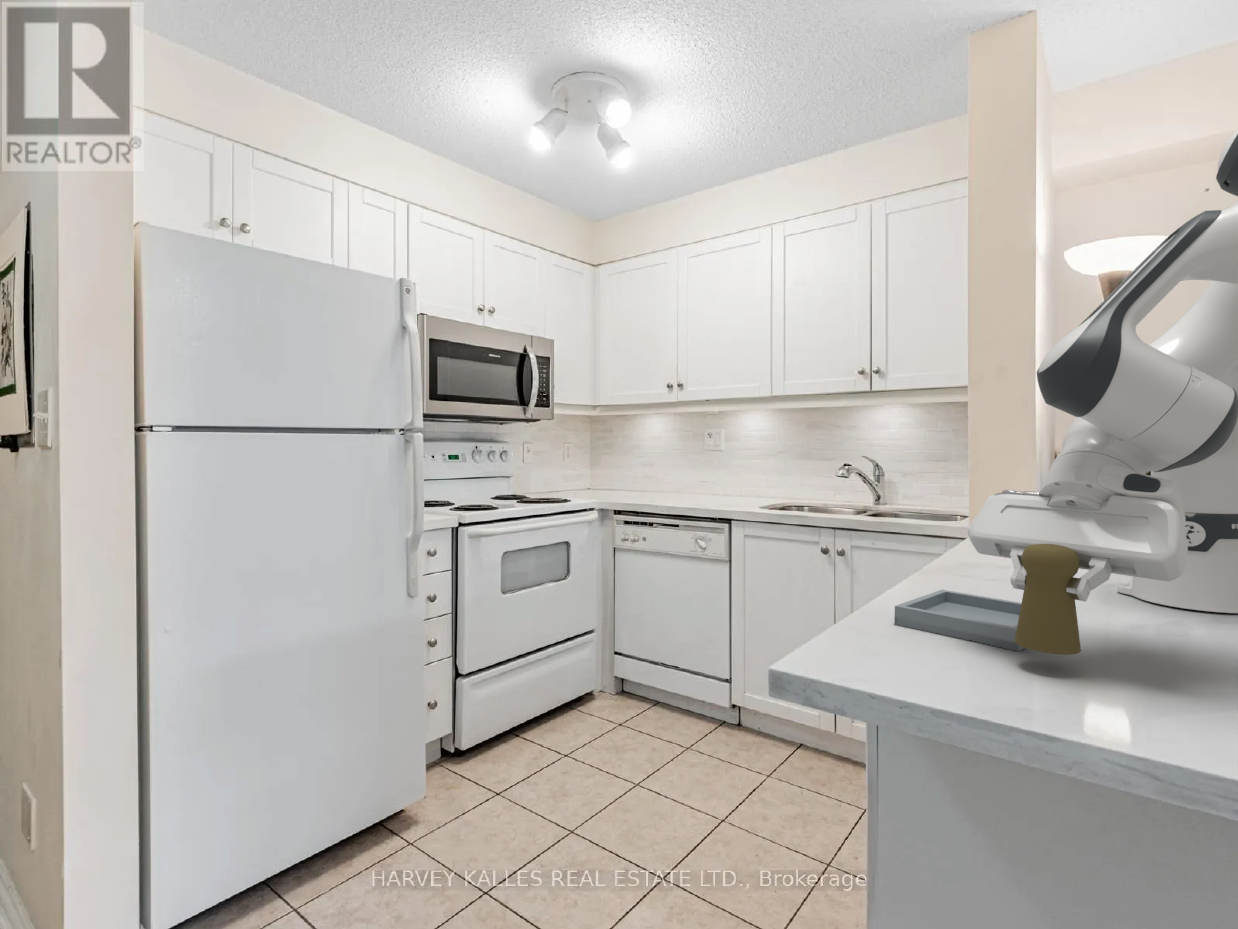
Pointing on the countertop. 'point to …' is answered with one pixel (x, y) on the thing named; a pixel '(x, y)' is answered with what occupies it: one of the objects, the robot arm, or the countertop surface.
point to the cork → (1048, 601)
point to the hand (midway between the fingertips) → (1046, 591)
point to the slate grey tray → (963, 617)
